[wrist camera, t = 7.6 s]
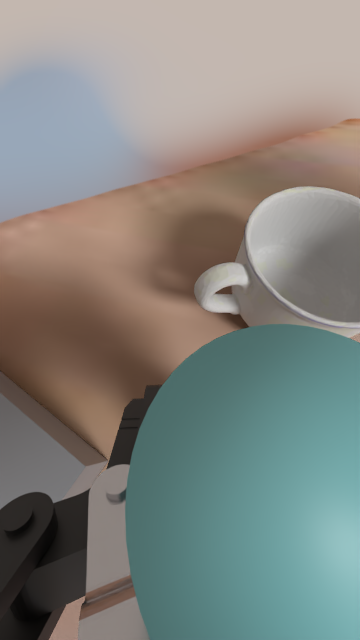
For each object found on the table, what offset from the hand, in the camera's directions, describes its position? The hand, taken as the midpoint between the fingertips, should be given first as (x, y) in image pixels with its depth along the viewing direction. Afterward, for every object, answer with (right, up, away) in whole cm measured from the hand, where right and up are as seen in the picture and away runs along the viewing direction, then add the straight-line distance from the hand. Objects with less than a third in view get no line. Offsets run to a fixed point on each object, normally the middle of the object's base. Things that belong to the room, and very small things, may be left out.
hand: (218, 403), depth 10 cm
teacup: (+6, +4, +13) cm, 15 cm away
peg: (0, -4, +5) cm, 6 cm away
